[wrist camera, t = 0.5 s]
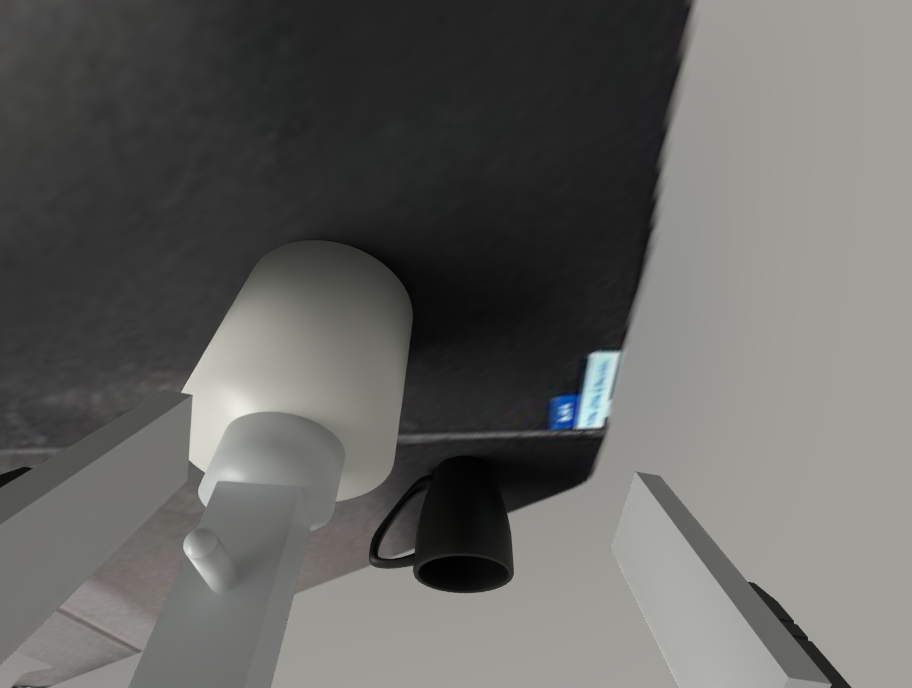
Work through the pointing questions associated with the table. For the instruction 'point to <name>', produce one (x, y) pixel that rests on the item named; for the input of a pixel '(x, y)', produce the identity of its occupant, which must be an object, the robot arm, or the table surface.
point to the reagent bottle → (279, 452)
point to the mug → (456, 530)
